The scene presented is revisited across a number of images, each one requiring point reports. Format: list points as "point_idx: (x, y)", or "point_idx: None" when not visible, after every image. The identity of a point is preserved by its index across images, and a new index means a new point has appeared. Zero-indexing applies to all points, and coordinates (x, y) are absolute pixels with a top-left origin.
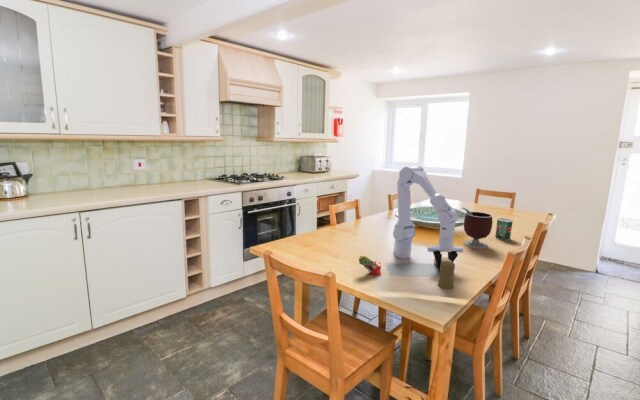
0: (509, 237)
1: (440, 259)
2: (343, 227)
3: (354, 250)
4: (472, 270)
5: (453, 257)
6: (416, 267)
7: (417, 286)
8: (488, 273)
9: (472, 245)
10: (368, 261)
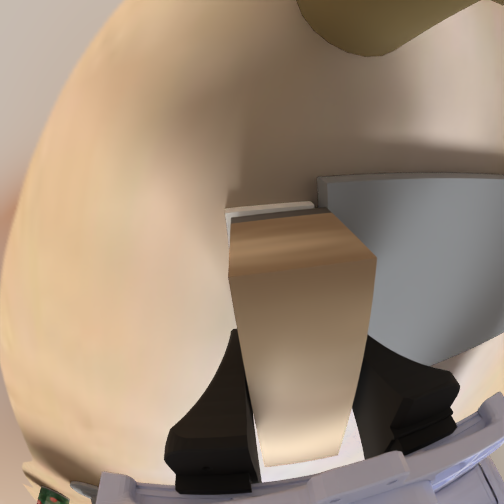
0: (40, 490)
1: (377, 365)
2: None
3: None
4: (79, 366)
5: (224, 413)
6: (445, 317)
7: (489, 79)
8: (11, 332)
9: None
10: None
